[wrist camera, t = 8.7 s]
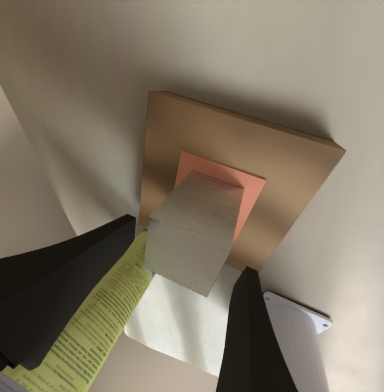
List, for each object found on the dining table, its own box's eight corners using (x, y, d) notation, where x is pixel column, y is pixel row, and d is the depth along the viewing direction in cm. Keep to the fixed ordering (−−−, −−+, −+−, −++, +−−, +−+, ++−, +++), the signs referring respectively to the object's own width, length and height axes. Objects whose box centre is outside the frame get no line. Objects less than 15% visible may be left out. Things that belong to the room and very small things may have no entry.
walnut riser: (256, 258, 21) (255, 278, 19) (149, 213, 24) (137, 226, 21) (334, 141, 13) (347, 151, 11) (163, 91, 16) (147, 91, 14)
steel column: (226, 228, 17) (206, 297, 11) (182, 210, 18) (143, 267, 12) (244, 188, 15) (230, 251, 9) (192, 169, 15) (149, 216, 10)
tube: (133, 245, 28) (-42, 451, 12) (135, 222, 25) (-88, 449, 9) (166, 261, 27) (25, 505, 11) (172, 239, 24) (-4, 521, 8)
